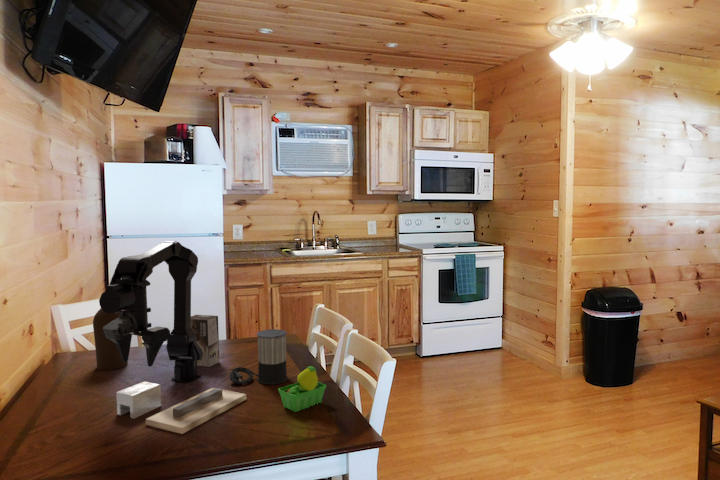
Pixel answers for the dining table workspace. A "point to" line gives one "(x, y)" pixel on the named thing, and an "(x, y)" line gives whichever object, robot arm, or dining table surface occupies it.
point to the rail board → (195, 410)
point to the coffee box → (206, 338)
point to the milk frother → (267, 359)
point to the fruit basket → (303, 391)
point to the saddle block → (139, 399)
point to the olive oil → (106, 343)
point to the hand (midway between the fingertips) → (137, 363)
